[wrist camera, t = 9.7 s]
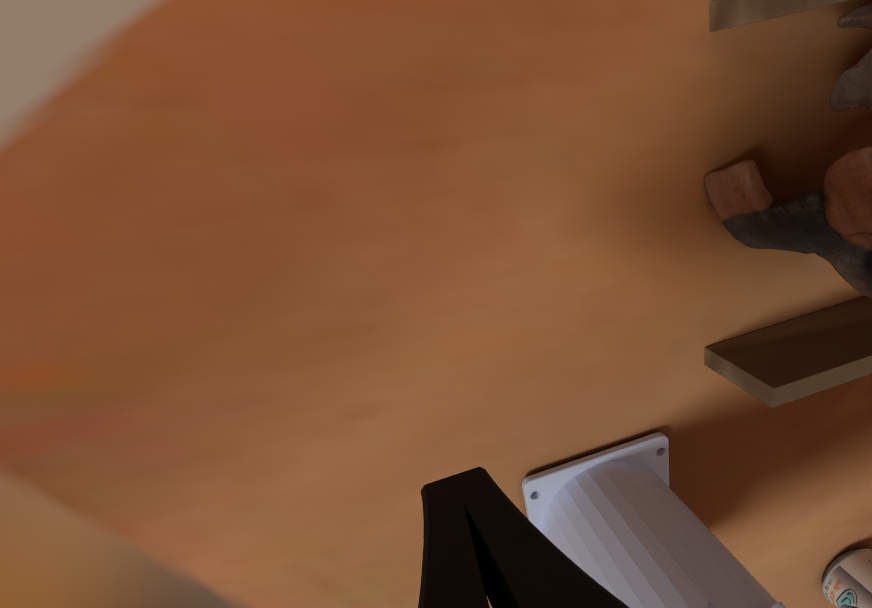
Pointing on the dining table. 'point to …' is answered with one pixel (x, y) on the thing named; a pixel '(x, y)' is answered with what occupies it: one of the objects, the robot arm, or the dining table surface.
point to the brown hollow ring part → (811, 193)
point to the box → (804, 336)
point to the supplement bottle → (849, 580)
